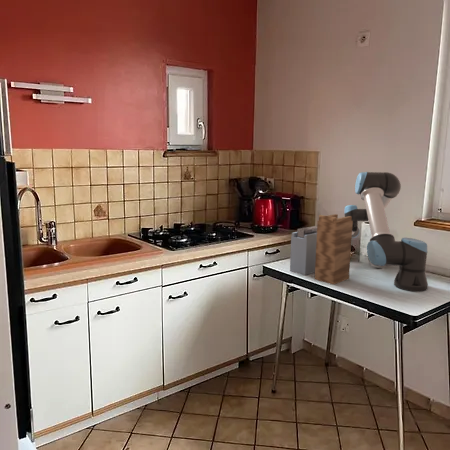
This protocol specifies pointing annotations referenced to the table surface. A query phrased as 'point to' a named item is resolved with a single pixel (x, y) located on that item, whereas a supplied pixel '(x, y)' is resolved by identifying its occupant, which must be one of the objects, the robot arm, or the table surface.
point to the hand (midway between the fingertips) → (334, 223)
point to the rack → (303, 253)
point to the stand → (333, 248)
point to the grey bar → (306, 231)
